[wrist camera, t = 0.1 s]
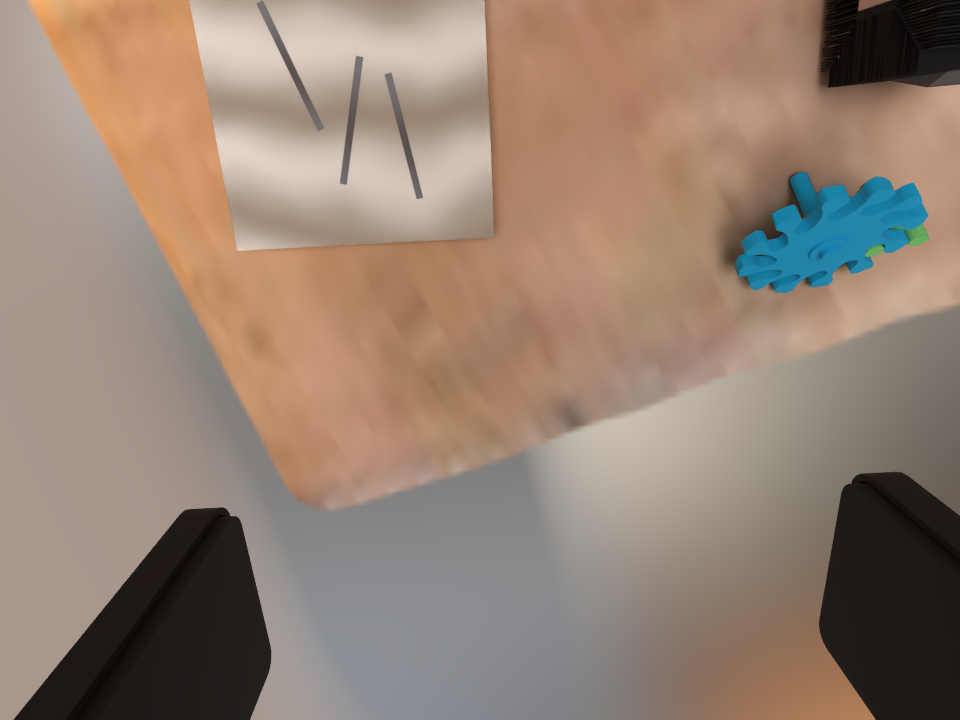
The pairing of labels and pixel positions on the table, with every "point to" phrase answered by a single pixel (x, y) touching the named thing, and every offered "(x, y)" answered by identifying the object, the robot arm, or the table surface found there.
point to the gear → (832, 233)
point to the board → (349, 119)
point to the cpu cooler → (894, 42)
